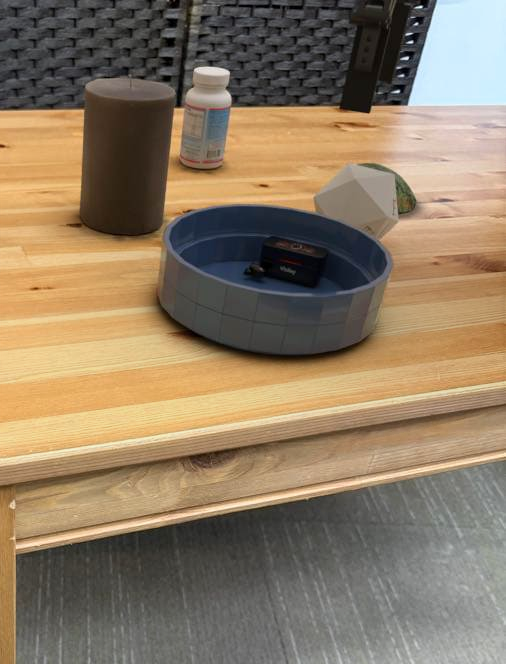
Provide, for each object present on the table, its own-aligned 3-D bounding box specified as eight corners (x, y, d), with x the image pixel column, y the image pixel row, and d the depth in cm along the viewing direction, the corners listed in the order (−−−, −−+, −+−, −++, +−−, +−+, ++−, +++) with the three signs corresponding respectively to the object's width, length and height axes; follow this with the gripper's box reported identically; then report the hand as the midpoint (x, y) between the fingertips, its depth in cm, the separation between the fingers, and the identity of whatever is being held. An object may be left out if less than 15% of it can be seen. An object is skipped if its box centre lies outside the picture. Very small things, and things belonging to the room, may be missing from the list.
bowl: (391, 289, 84) (409, 231, 80) (350, 383, 69) (369, 318, 65) (198, 245, 90) (206, 189, 86) (122, 323, 75) (127, 260, 71)
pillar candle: (131, 243, 89) (143, 91, 79) (62, 219, 93) (65, 72, 83) (179, 219, 95) (196, 76, 85) (112, 198, 99) (121, 58, 89)
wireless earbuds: (257, 263, 86) (262, 233, 83) (322, 280, 83) (330, 249, 81) (241, 279, 82) (247, 248, 80) (309, 297, 80) (317, 265, 78)
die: (333, 271, 88) (412, 201, 83) (284, 208, 89) (359, 135, 84) (353, 274, 95) (427, 210, 90) (308, 216, 97) (378, 149, 91)
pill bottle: (220, 157, 114) (233, 66, 106) (224, 171, 109) (238, 78, 102) (177, 154, 114) (187, 63, 106) (179, 168, 109) (189, 74, 102)
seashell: (391, 183, 96) (327, 159, 102) (380, 218, 99) (318, 193, 105) (440, 177, 101) (377, 154, 107) (428, 211, 104) (367, 187, 110)
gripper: (410, -202, 74) (351, 64, 88) (363, -216, 56) (299, 118, 70) (496, -198, 72) (422, 74, 86) (476, -211, 54) (387, 132, 68)
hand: (367, 94), depth 78 cm, fingers open, 13 cm apart
